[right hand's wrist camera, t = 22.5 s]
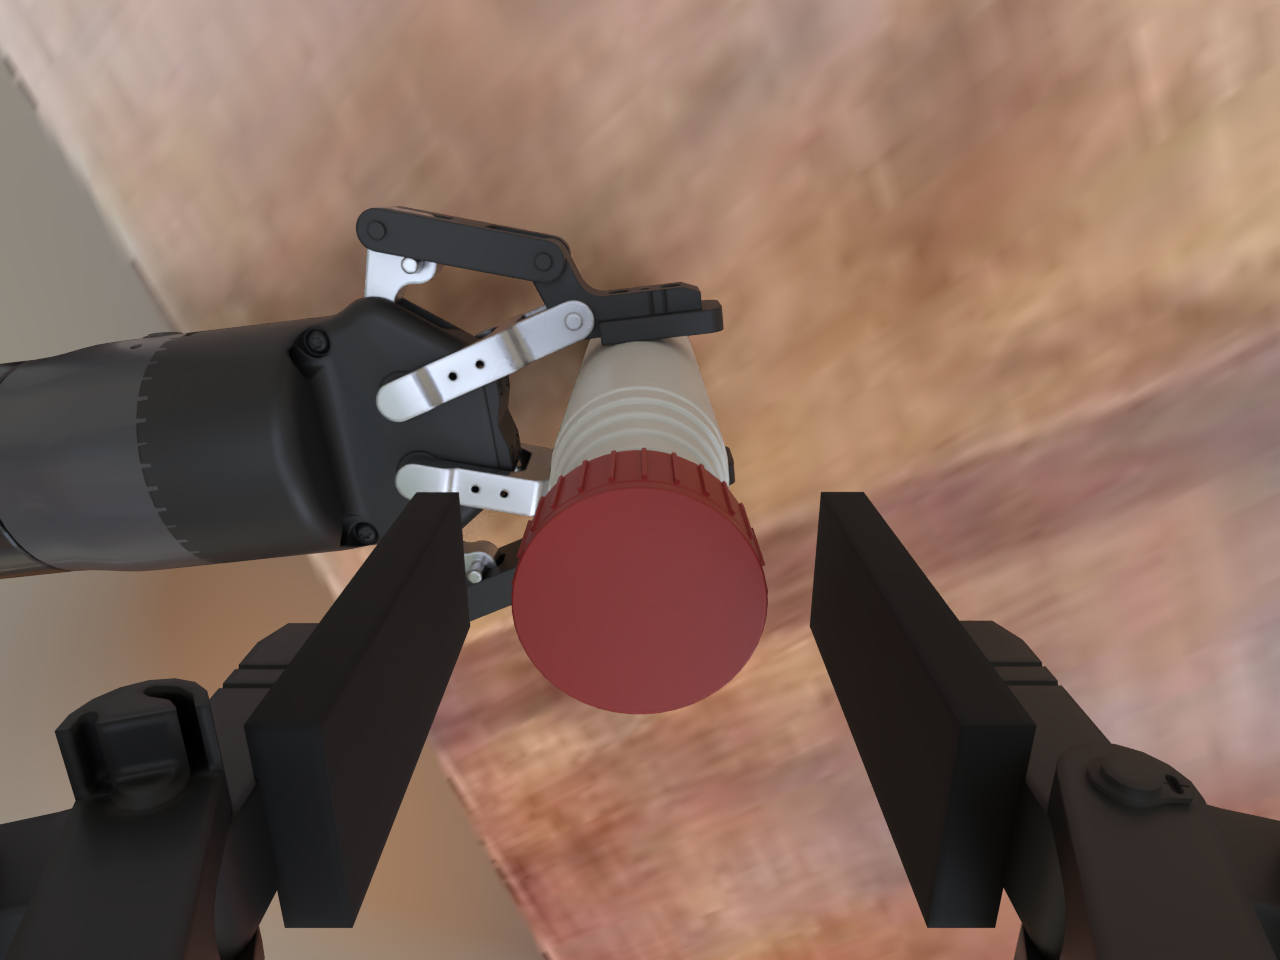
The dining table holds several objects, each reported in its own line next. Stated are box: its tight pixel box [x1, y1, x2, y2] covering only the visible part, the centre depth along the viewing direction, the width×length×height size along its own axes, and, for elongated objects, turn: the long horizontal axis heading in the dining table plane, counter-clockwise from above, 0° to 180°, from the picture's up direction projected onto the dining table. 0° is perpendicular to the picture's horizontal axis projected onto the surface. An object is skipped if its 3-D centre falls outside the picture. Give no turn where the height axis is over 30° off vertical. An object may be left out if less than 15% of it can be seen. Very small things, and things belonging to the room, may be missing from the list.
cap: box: [511, 448, 768, 714], centre depth 14 cm, size 4×4×2 cm
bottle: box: [550, 336, 729, 490], centre depth 23 cm, size 4×4×19 cm
